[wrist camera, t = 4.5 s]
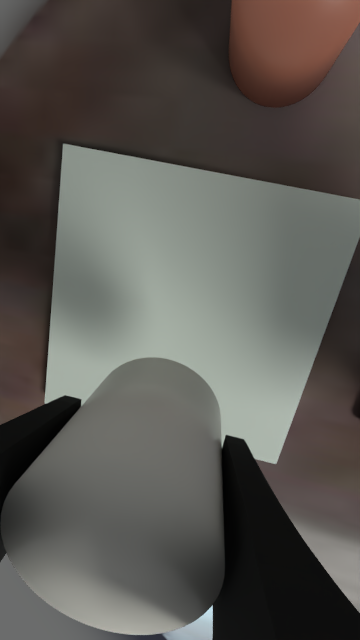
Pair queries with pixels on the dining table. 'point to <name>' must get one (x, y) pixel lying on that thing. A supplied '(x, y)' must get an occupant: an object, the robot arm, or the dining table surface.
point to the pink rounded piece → (287, 45)
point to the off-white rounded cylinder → (126, 504)
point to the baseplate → (195, 283)
